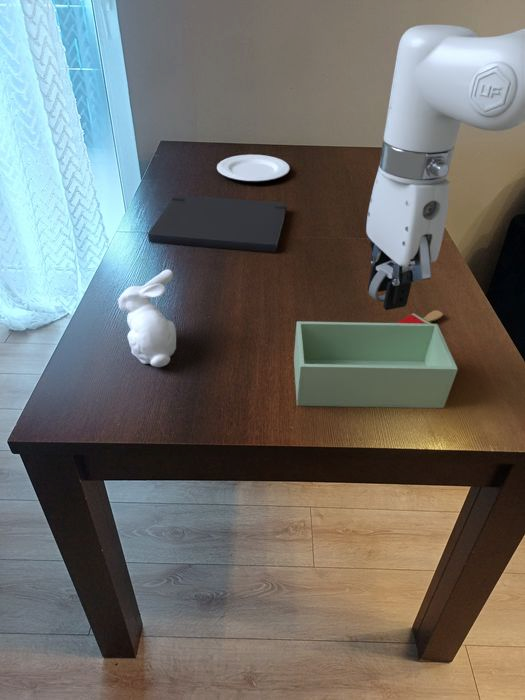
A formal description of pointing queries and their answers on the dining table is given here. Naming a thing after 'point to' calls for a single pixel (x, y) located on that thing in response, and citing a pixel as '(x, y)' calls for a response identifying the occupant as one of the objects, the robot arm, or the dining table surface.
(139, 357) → the rabbit
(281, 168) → the plate
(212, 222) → the notebook
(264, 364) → the dining table surface
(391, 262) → the wristwatch
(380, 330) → the bin
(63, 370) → the dining table surface
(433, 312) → the popsicle
